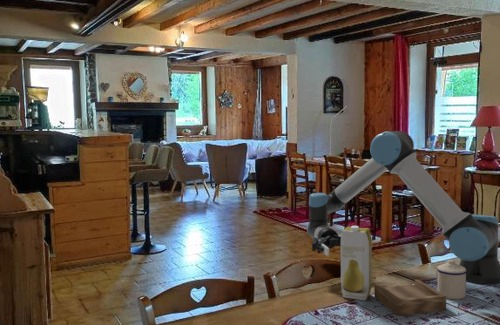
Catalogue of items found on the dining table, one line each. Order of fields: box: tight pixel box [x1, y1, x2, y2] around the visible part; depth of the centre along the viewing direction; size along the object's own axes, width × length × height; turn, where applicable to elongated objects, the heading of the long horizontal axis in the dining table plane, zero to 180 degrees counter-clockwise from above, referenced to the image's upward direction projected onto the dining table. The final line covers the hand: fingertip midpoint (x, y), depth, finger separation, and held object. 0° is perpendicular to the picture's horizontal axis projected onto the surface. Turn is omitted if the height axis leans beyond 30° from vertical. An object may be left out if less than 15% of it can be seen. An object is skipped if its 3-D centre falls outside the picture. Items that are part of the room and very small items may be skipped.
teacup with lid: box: [435, 259, 467, 300], centre depth 164 cm, size 12×9×12 cm
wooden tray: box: [373, 279, 447, 317], centre depth 157 cm, size 16×16×4 cm
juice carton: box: [340, 225, 373, 301], centre depth 163 cm, size 9×8×24 cm
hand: (346, 250), depth 172 cm, fingers open, 13 cm apart
